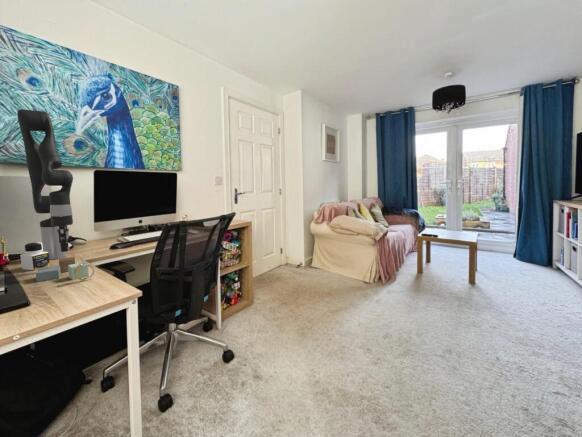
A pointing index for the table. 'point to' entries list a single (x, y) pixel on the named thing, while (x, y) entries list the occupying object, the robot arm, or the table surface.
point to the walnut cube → (66, 263)
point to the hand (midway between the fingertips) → (65, 249)
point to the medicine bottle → (34, 257)
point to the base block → (48, 273)
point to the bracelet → (82, 266)
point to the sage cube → (80, 273)
